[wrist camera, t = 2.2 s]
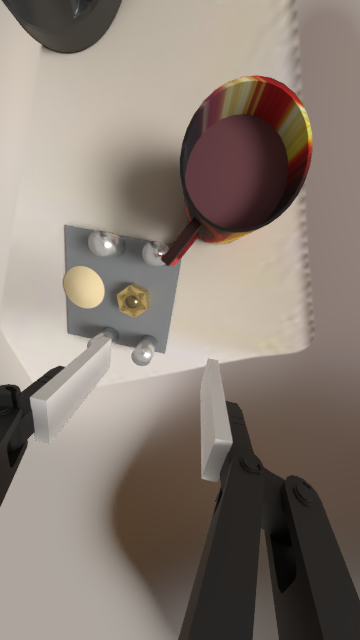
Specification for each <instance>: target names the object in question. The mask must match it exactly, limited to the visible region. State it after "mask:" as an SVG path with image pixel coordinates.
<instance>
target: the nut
mask: <svg viewBox="0 0 360 640" xmlns="http://www.w3.org/2000/svg"><path fill="white" fill-rule="evenodd" d="M117 299H118V304H119V309H120V311H121V312H123V313H125V314H127V315H129V316H131V317H134V318H136V317H137V316H139V315H140V314H141V313H143V312H144V311H146V310H147V309H148V308H149V307H150V306H151V301H150V293H149V290H148V289H146V288H144V287H142V286H139V285H137V284H135V283H134V284H131V285H129V286H128V287H127V288H125V289H124V290H123V291H121V292H120V293H119V294H117Z"/></svg>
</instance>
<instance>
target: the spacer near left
mask: <svg viewBox="0 0 360 640" xmlns="http://www.w3.org/2000/svg"><path fill="white" fill-rule="evenodd" d="M88 245H89V248H90V250H91V251H92V252H93V253H94V254H95V255H97V256H121V255H122V254H123V253H124V252H125V249H126V244H125V241H124V239H123V238H122V237H120V236H119V235H115V234H111V233H107V232H103V231H94V232H92V233H91V234H90V236H89V238H88Z"/></svg>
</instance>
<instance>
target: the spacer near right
mask: <svg viewBox="0 0 360 640" xmlns="http://www.w3.org/2000/svg"><path fill="white" fill-rule="evenodd" d="M169 249H170V248H169V247H168V246H167V245H165V244H162V243H159V242H156V241H151V242H149V243H147V244H146V245H145V246H144V248H143V250H142V256H143V259H144V261H145V262H146V264H148V265H149V266H152V267H157V266H161V265H164V264H165V263H164V262H163V261H162V260H161V258H162V257H163V256H164V255H165V254H166V253H167V251H168V250H169Z"/></svg>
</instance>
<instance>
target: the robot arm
mask: <svg viewBox="0 0 360 640" xmlns="http://www.w3.org/2000/svg"><path fill="white" fill-rule="evenodd" d="M2 1H3V2H4V4H5V5H6V7H7V8H8V9H9V11H10V12H11V13H12V14H13V16H14V17H15V18H16V20H17V21H18V22H19V23H20V25H21V26H22V27H23V28H24V30H25V31H26V32H27V33H29V35H30V36H32V37H33V38H34V39H35V40H36V41H38V42H39V43H40V44H42V45H44V46H46V47H47V48H50V49H52V50H55V51H59V52H76V51H80V50H83V49H85V48H87V47H89V46H91V45H92V44H94V43H95V42H96V41H97V40H98V39H99V38H101V36H102V35H103V34H104V33H105V32H106V31H107V29H108V28H109V26H110V25H111V23H112V21H113V20H114V18H115V16H116V14H117V11H118V9H119V7H120V4H121V1H122V0H2ZM111 339H112V338H107V337H101V338H100V339H98V340H97V341H96V342H95V343H94V344H93V345H91V346H90V347H89V348H88V349H87V350H85V351H84V352H83V353H82V354H81V355H79V356H78V357H77V358H76V359H75V360H74V361H72V362H71V363H70V364H69V365H68V366H66V367H63V366H58V367H56V368H53V369H51V370H49V371H48V372H47V373H46V374H44V375H43V377H40V378H39V379H38V380H37V381H35V382H34V383H33V384H31V385H30V386H29V387H27V388H26V389H25V390H24V391H22V392H21V391H20V388H19V387H18V386H16V385H9V384H8V385H1V386H0V506H1V504H2V502H3V500H4V497H5V495H6V493H7V491H8V488H9V486H10V484H11V482H12V480H13V477H14V475H15V473H16V471H17V468H18V466H19V464H20V461H21V459H22V457H23V455H24V453H25V450H26V448H27V444H28V441H27V439H28V438H29V437H30V436H31V435H32V434H33V433H34V436H35V441H39V442H43V443H48V444H50V443H51V442H52V441H53V439H54V438H55V437H56V435H57V434H58V433H59V432H60V430H61V429H62V428H63V427H64V425H65V424H66V423H67V422H68V420H69V419H70V418H71V416H72V415H73V414H74V413H75V411H76V410H77V409H78V408H79V406H80V405H81V404H82V403H83V401H84V400H85V399H86V397H87V396H88V395H89V394H90V392H91V391H92V390H93V389H94V387H95V386H96V385H97V383H98V382H99V381H100V380H101V378H102V377H103V376H104V375H105V373H106V372H107V371H108V370H109V368H110V355H111ZM200 393H201V462H202V464H201V466H202V467H201V470H202V479H206V480H210V481H214V482H217V481H218V479H219V476H220V480H221V488H220V490H219V493H218V495H217V497H216V500H215V502H216V504H215V508H214V512H213V515H212V519H211V522H210V526H209V529H208V533H207V537H206V541H205V544H204V548H203V551H202V555H201V559H200V562H199V566H198V570H197V573H196V577H195V580H194V584H193V588H192V591H191V595H190V599H189V602H188V606H187V610H186V613H185V617H184V620H183V624H182V628H181V631H180V635H179V639H178V640H252V638H253V625H254V612H255V597H256V584H257V570H258V557H259V544H260V531H261V528H262V529H264V531H265V538H266V546H267V553H268V561H269V568H270V575H271V583H272V591H273V598H274V605H275V613H276V620H277V628H278V635H279V640H360V600H359V597H358V595H357V592H356V589H355V587H354V584H353V582H352V579H351V577H350V574H349V572H348V569H347V566H346V564H345V561H344V559H343V556H342V553H341V551H340V548H339V546H338V543H337V540H336V538H335V535H334V533H333V530H332V528H331V525H330V522H329V520H328V517H327V515H326V512H325V509H324V507H323V505H322V502H321V500H320V498H319V496H318V494H317V492H316V491H315V490H314V489H313V488H312V486H311V485H310V484H308V483H307V482H306V481H305V480H303V479H302V478H299V477H298V476H293V475H291V476H288V477H287V478H286V480H284V479H282V478H280V477H279V476H277V475H275V474H273V473H271V472H270V471H268V470H267V469H266V468H264V467H263V465H262V462H261V461H260V459H259V458H258V457H257V456H256V455H255V454H254V452H253V449H252V445H251V442H250V438H249V434H248V431H247V427H246V424H245V420H244V417H243V414H242V410H241V409H240V407H239V406H238V405H237V403H232V402H228V401H225V397H224V391H223V386H222V380H221V375H220V369H219V364H218V361H217V360H212V359H208V361H207V365H206V369H205V373H204V376H203V380H202V383H201V387H200Z"/></svg>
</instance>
